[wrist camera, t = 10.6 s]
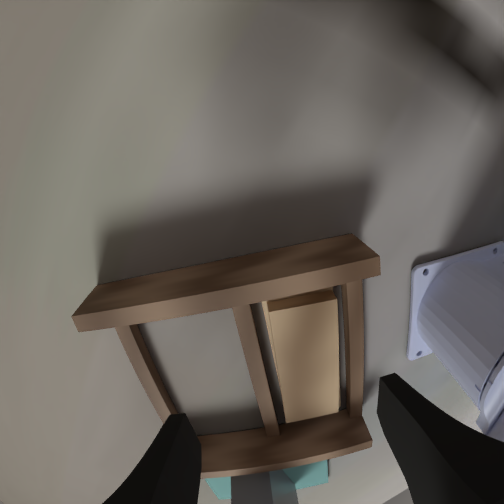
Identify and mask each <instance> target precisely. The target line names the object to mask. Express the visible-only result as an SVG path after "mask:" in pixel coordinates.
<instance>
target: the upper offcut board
mask: <svg viewBox="0 0 504 504" xmlns="http://www.w3.org/2000/svg"><path fill="white" fill-rule="evenodd" d="M267 307H268V313H269V319H270V326H271V332H272V338H273V344H274V351H275V357H276V363H277V370H278V376H279V383H280V389H281V395H282V402H283V408H284V414H285V419H286V423H290V422H295V421H300V420H305V419H310V418H315V417H319V416H324V415H328V414H332V413H337V412H338V409H339V334H338V304H337V298H336V296H335V295H334V293H333V291H332V290H329V291H324V292H319V293H314V294H308V295H303V296H298V297H292V298H287V299H281V300H276V301H270V302H267Z"/></svg>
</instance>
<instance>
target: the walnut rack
mask: <svg viewBox="0 0 504 504" xmlns="http://www.w3.org/2000/svg"><path fill="white" fill-rule="evenodd" d="M378 275H381V272H380V256H379V255H378V254H377V253H375V252H374V251H373V250H372V249H371V248H369V247H368V246H367V245H366V244H364V243H363V242H362V241H361V240H360V239H358V238H357V237H356V236H355V235H353V234H352V233H351V234H346V235H342V236H337V237H332V238H327V239H322V240H317V241H312V242H307V243H302V244H298V245H293V246H288V247H283V248H278V249H273V250H268V251H263V252H258V253H253V254H249V255H244V256H239V257H234V258H229V259H224V260H219V261H214V262H209V263H204V264H199V265H194V266H189V267H185V268H180V269H175V270H170V271H165V272H160V273H155V274H150V275H145V276H140V277H135V278H130V279H125V280H120V281H115V282H110V283H105V284H100V285H97V286H96V287H95V288H94V289H93V291H92V292H91V293H90V294H89V295H88V297H87V298H86V299H85V300H84V301H83V303H82V304H81V305H80V306H79V308H78V309H77V310H76V311H75V313H74V314H73V315H72V316H71V317H72V319H73V321H74V323H75V325H76V328H77V330H78V332H84V331H92V330H99V329H106V328H113V327H115V329H116V331H117V333H118V336H119V338H120V340H121V342H122V345H123V347H124V349H125V351H126V353H127V355H128V357H129V359H130V362H131V364H132V366H133V368H134V370H135V372H136V374H137V376H138V378H139V380H140V382H141V384H142V385H143V387H144V389H145V391H146V393H147V395H148V397H149V399H150V401H151V402H152V404H153V406H154V408H155V410H156V411H157V413H158V415H159V417H160V418H161V420H162V422H163V424H164V423H165V421H166V419H167V418H168V416H169V415H170V414H178V412H177V410H176V408H175V406H174V404H173V403H172V401H171V399H170V397H169V394H168V392H167V390H166V388H165V386H164V384H163V382H162V380H161V378H160V376H159V374H158V371H157V369H156V367H155V365H154V363H153V360H152V358H151V356H150V354H149V351H148V349H147V347H146V344H145V342H144V340H143V337H142V335H141V333H140V330H139V328H138V325H137V324H140V323H147V322H153V321H159V320H165V319H171V318H177V317H183V316H189V315H194V314H200V313H206V312H211V311H217V310H222V309H227V308H232V309H233V313H234V317H235V321H236V325H237V329H238V332H239V336H240V340H241V344H242V348H243V351H244V355H245V359H246V362H247V366H248V370H249V373H250V377H251V381H252V384H253V388H254V391H255V395H256V399H257V402H258V406H259V409H260V413H261V416H262V420H263V423H264V427H263V428H257V429H251V430H244V431H237V432H230V433H222V434H213V435H203V436H197V437H198V439H199V441H200V443H201V451H202V469H201V477H200V479H206V478H219V477H230V476H239V475H248V474H255V473H262V472H269V471H275V470H281V469H286V468H291V467H297V466H301V465H306V464H311V463H315V462H319V461H324V460H328V459H332V458H335V457H339V456H343V455H347V454H350V453H354V452H357V451H360V450H364V449H367V448H370V447H372V441H373V440H372V438H371V435H370V433H369V431H368V428H367V426H366V424H365V421H364V419H363V417H362V404H363V376H364V317H363V288H362V279H366V278H370V277H374V276H378ZM337 285H341V291H342V304H343V320H344V338H345V362H346V409H344V410H341V411H338V412H337V413H332V414H328V415H324V416H319V417H315V418H310V419H305V420H300V421H295V422H290V423H285V424H280V425H278V421H277V417H276V413H275V409H274V404H273V400H272V396H271V392H270V387H269V383H268V379H267V375H266V370H265V366H264V362H263V357H262V353H261V349H260V344H259V340H258V336H257V331H256V327H255V322H254V318H253V314H252V309H251V305H250V304H253V303H258V302H263V301H268V300H273V299H278V298H282V297H287V296H292V295H296V294H301V293H306V292H310V291H315V290H319V289H324V288H328V287H332V286H337Z"/></svg>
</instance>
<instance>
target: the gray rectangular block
mask: <svg viewBox="0 0 504 504" xmlns="http://www.w3.org/2000/svg"><path fill="white" fill-rule="evenodd" d="M231 504H298V498H297V493H296V487H295V484H294V483H293V482H292V480H291V479H290V478H289V477H288V476H287V475H286V474H285V472H284V471H283V470H282V469H281V470H275V471H269V472H262V473H255V474H248V475H239V476H231Z"/></svg>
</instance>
